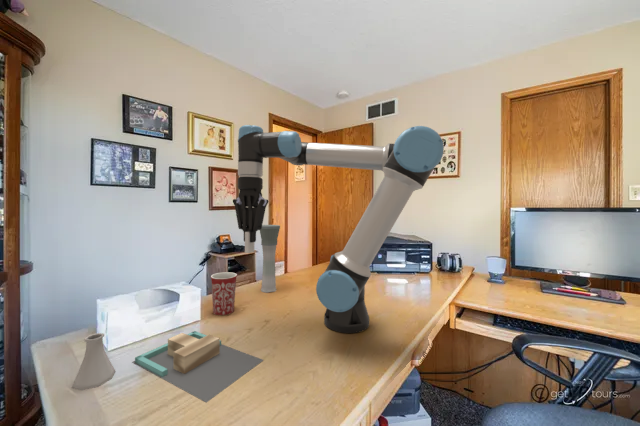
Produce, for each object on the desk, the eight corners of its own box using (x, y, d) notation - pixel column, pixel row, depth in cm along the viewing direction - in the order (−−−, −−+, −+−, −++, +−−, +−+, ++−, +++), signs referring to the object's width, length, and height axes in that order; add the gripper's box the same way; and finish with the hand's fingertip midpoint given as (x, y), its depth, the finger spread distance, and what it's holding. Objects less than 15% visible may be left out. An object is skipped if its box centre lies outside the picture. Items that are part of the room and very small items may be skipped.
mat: (263, 361, 68) (263, 355, 68) (206, 404, 53) (206, 396, 53) (193, 335, 81) (193, 329, 81) (131, 363, 66) (131, 357, 66)
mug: (236, 315, 96) (237, 277, 96) (209, 317, 94) (209, 279, 93) (236, 302, 108) (236, 269, 108) (212, 304, 106) (212, 270, 105)
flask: (89, 371, 63) (89, 329, 63) (122, 370, 63) (122, 328, 63) (62, 393, 56) (62, 345, 55) (100, 391, 56) (100, 344, 56)
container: (262, 286, 130) (263, 224, 130) (281, 287, 129) (282, 225, 128) (255, 292, 121) (255, 225, 120) (275, 294, 120) (276, 226, 119)
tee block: (219, 353, 71) (219, 338, 70) (184, 373, 62) (184, 356, 62) (192, 342, 76) (192, 328, 76) (156, 360, 67) (156, 344, 67)
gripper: (274, 177, 85) (273, 252, 85) (243, 179, 91) (243, 248, 92) (258, 175, 78) (257, 256, 79) (226, 176, 84) (225, 251, 85)
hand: (249, 252), depth 85 cm, fingers closed
